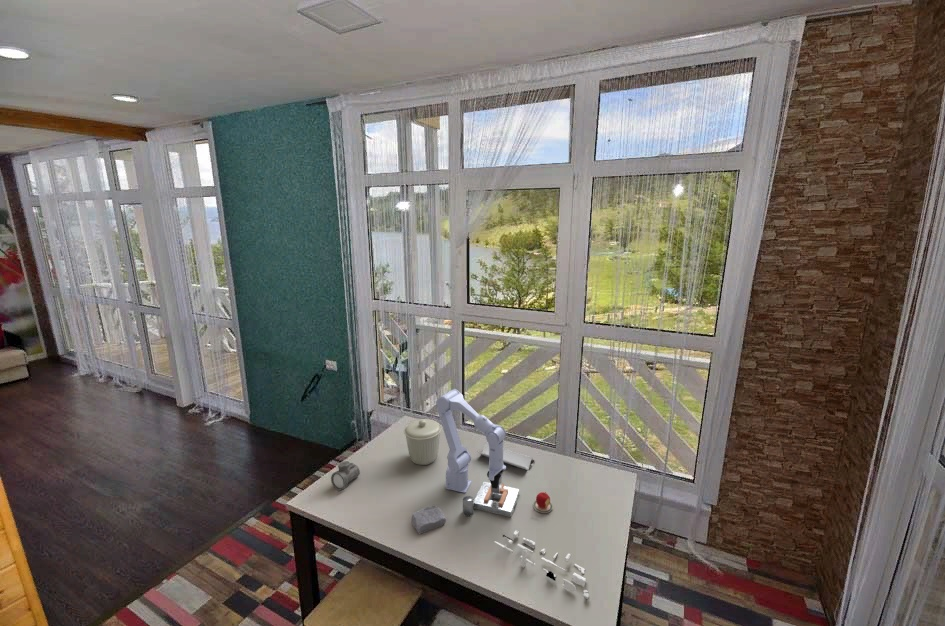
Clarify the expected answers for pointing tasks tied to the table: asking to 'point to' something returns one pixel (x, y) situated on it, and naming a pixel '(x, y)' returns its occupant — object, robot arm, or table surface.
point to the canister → (423, 440)
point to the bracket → (504, 491)
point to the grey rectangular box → (497, 487)
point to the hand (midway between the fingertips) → (496, 484)
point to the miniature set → (567, 584)
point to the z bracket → (511, 457)
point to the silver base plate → (494, 505)
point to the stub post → (468, 506)
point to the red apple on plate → (543, 503)
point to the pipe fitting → (344, 474)
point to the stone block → (428, 519)
